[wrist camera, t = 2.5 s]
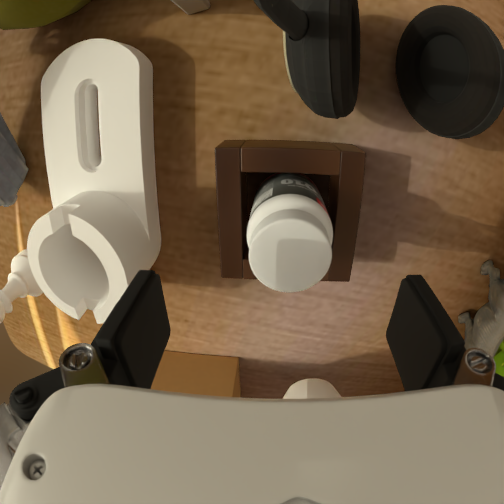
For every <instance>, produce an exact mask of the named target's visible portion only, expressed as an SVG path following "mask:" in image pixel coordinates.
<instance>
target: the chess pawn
mask: <svg viewBox="0 0 504 504" xmlns="http://www.w3.org/2000/svg"><path fill="white" fill-rule="evenodd" d="M42 293H43V291H42V290H41V288H40V287H39V285H38V283H37V282H36V280H35V278H34V276H33V273H32V271H31V267H30V264H29V260H28V254H27V249H25V250H23V251H21V252H20V253H19V254H18V255H17V256H15V257H14V258H13V259H12V263H11V273H10V274H9V275H8V283H7V284H6V286H5V287H4V288H3V289H2V290H1V289H0V323H1V322H2V321H3V320H4V317H5V313H10V312H12V304H11V302H12V301H14V300H15V299H16V298H18V297H22V298H24V297H26V296H27V295H31V296H40V295H41V294H42Z"/></svg>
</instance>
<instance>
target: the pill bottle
mask: <svg viewBox="0 0 504 504" xmlns="http://www.w3.org/2000/svg"><path fill="white" fill-rule="evenodd" d="M332 240H333V228H332V223H331V220H330V217H329V215H328V212H327V210H326V207H325V205H324V202H323V200H322V197H321V195H320V192H319V190H318V188H317V186H316V185H315V184H314V182H313V181H312V180H311V179H310V178H308V177H307V176H305V175H303V174H301V173H275V174H272V175H271V176H269V177H268V178H266V179H265V180H264V181H263V182H262V183H261V184H260V186H259V187H258V189H257V191H256V194H255V198H254V202H253V206H252V210H251V214H250V218H249V222H248V226H247V243H248V247H249V264H250V267H251V269H252V271H253V273H254V275H255V276H256V277H257V279H258V280H259V281H260V282H261V283H263V284H264V285H265V286H267V287H269V288H271V289H273V290H276V291H280V292H298V291H303V290H306V289H308V288H310V287H312V286H314V285H315V284H317V283H318V282H319V281H320V280H321V279H322V278H323V277H324V276H325V274H326V273H327V271H328V269H329V267H330V264H331V260H332V249H331V245H332Z"/></svg>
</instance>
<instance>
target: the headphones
mask: <svg viewBox="0 0 504 504" xmlns="http://www.w3.org/2000/svg"><path fill="white" fill-rule="evenodd" d="M254 2H255V3H256V5H257V6H258V7H259V8H260V9H261V10H262V11H263V12H264V13H265V14H266V15H267V16H268V17H269V18H270V19H271V20H272V21H273V22H274V23H275V24H276V25H277V26H279V27H280V28H281V29H282V30H283V46H284V57H285V64H286V69H287V74H288V77H289V81H290V84H291V86H292V88H293V90H294V91H295V92H296V93H298V94H299V95H300V97H301V98H302V100H303V101H304V103H305V104H306V105H307V106H308V107H309V108H310V109H311V110H312V111H313V112H314V113H316V114H318V115H320V116H323V117H327V118H336V119H338V118H339V117H346V116H347V115H349V114H350V113H351V112H352V111H353V109H354V106H355V103H356V100H357V94H358V85H359V72H360V22H359V9H358V1H357V0H254ZM396 77H397V83H398V87H399V91H400V94H401V97H402V100H403V102H404V104H405V106H406V108H407V110H408V112H409V113H410V114H411V116H412V117H413V118H414V119H415V120H416V121H417V122H418V123H419V124H420V125H421V126H422V127H424V128H425V129H426V130H428V131H429V132H431V133H433V134H436V135H438V136H441V137H446V138H452V139H463V138H470V137H472V136H475V135H478V134H480V133H482V132H483V131H484V130H486V129H487V128H489V127H490V126H491V125H492V124H493V122H494V121H495V120H496V119H497V118H498V116H499V114H500V113H501V111H502V109H503V107H504V49H503V47H502V45H501V43H500V41H499V39H498V38H497V37H496V35H495V34H494V33H493V31H492V30H491V29H490V27H489V26H488V25H487V24H486V23H484V22H483V21H482V20H481V19H480V18H478V17H477V16H475V15H474V14H472V13H471V12H469V11H467V10H465V9H463V8H460V7H455V6H447V5H438V6H433V7H430V8H428V9H425V10H424V11H422V12H421V13H419V14H418V15H417V16H416V17H415V18H414V19H413V20H412V21H411V22H410V23H409V24H408V26H407V27H406V29H405V31H404V32H403V35H402V37H401V39H400V42H399V46H398V50H397V56H396Z"/></svg>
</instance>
